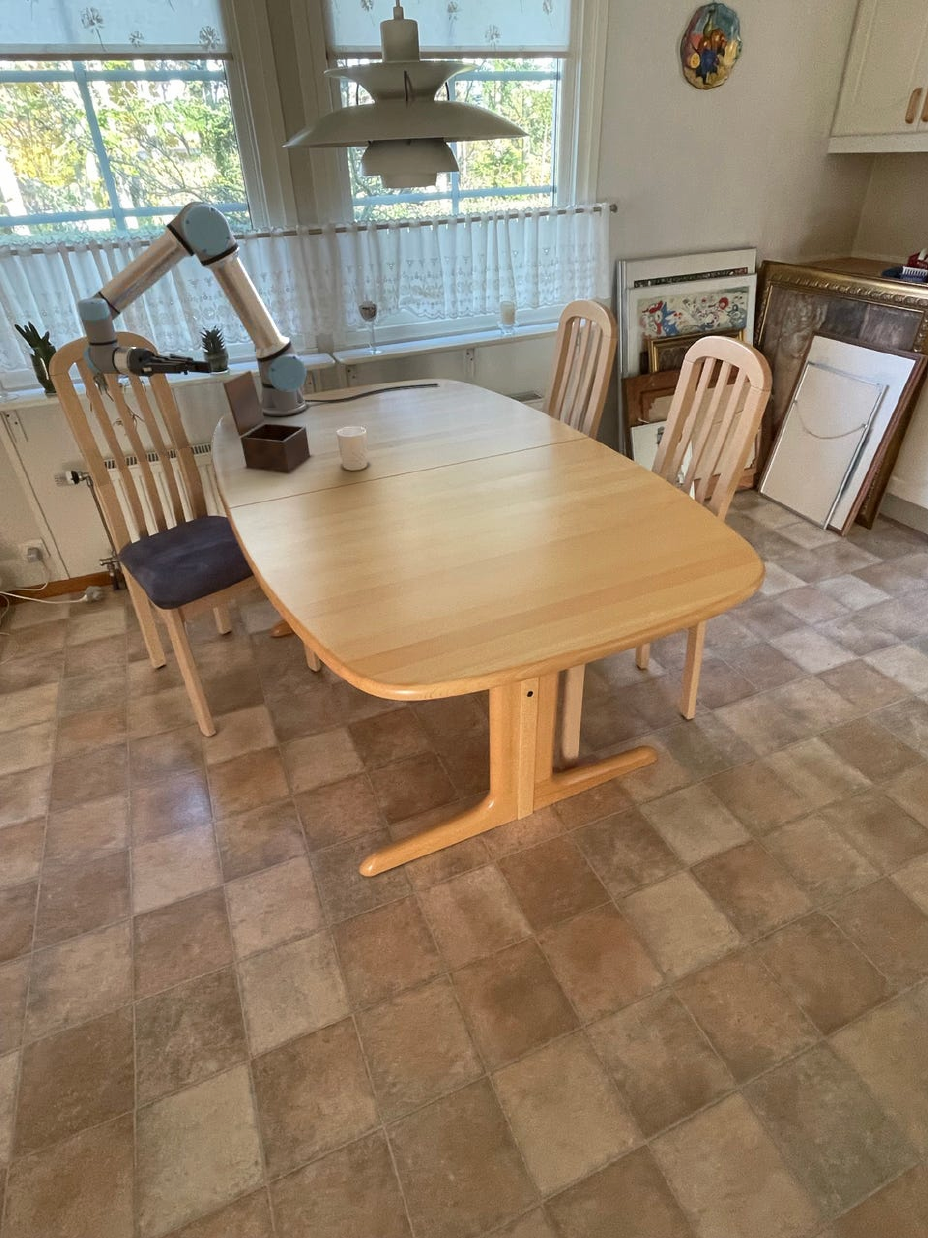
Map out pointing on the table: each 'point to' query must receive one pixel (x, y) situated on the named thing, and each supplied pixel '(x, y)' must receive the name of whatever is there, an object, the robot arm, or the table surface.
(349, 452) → the white cup
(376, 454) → the table surface
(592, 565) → the table surface
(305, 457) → the tea box
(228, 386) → the lid
